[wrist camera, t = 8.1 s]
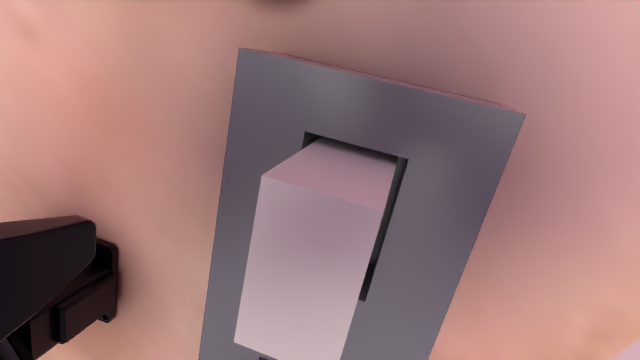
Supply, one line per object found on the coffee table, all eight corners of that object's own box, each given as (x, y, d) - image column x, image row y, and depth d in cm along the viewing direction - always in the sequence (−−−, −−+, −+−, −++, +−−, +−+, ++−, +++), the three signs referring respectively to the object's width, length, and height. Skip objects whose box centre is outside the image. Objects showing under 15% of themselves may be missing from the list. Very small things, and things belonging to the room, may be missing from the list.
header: (222, 393, 27) (186, 453, 22) (279, 53, 19) (239, 47, 15) (368, 455, 25) (358, 533, 20) (499, 104, 17) (525, 114, 13)
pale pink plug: (307, 236, 20) (233, 342, 12) (331, 131, 18) (261, 175, 10) (368, 256, 19) (333, 381, 12) (400, 149, 17) (384, 211, 10)
